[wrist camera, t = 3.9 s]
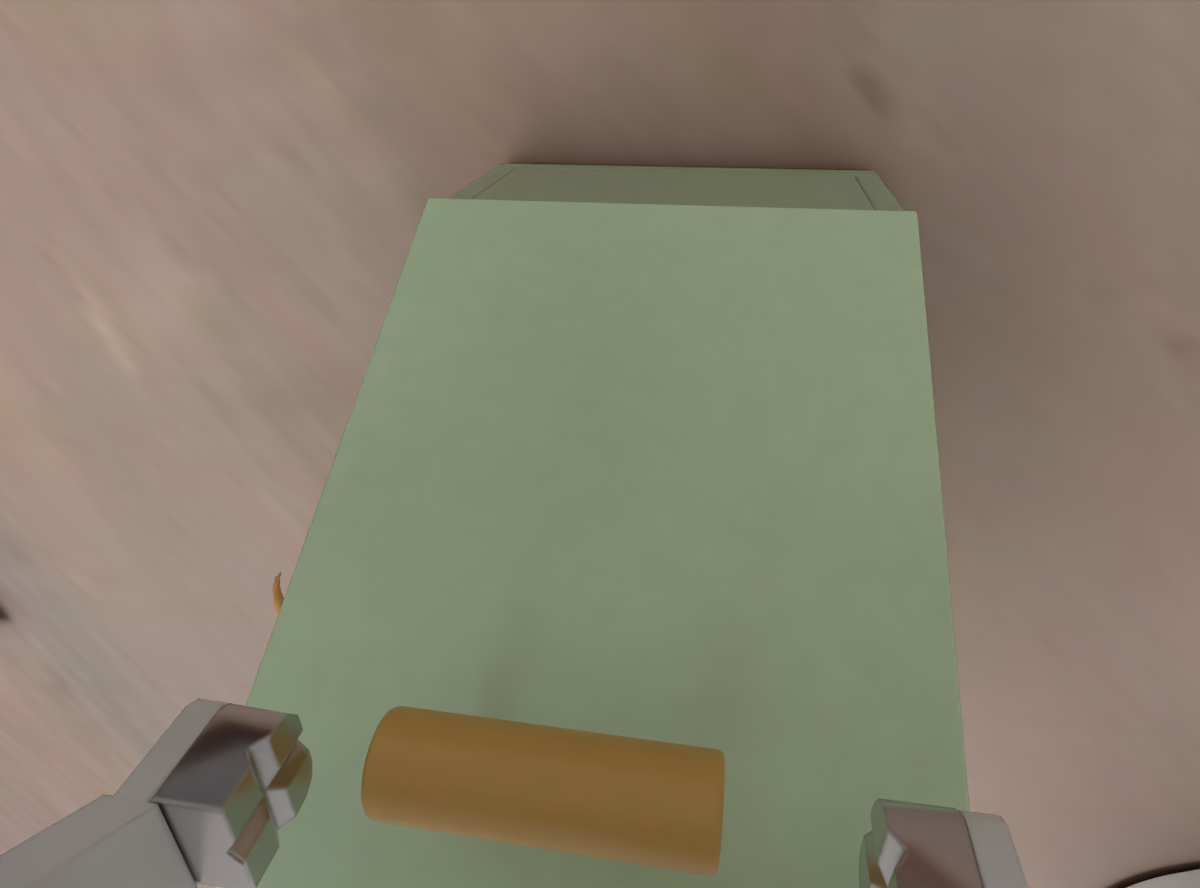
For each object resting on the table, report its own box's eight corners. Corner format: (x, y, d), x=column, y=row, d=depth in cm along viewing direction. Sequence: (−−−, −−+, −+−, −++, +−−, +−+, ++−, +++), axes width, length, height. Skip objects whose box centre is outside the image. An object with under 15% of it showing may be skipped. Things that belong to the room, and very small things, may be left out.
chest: (813, 547, 35) (825, 655, 29) (527, 519, 37) (485, 616, 31) (875, 170, 26) (910, 216, 20) (501, 163, 28) (436, 204, 23)
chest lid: (973, 1021, 12) (1116, 1093, 8) (205, 880, 14) (17, 882, 10) (909, 232, 20) (964, 77, 16) (435, 217, 22) (382, 76, 19)
